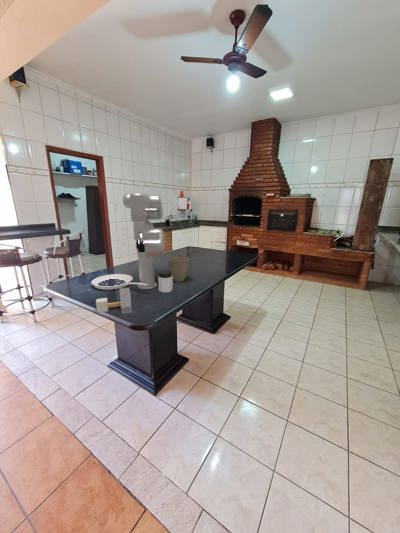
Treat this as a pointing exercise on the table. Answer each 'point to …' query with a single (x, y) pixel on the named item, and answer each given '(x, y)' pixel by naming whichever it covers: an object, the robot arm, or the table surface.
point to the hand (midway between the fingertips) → (140, 250)
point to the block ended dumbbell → (105, 305)
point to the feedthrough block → (125, 300)
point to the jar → (165, 281)
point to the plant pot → (178, 267)
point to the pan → (114, 276)
